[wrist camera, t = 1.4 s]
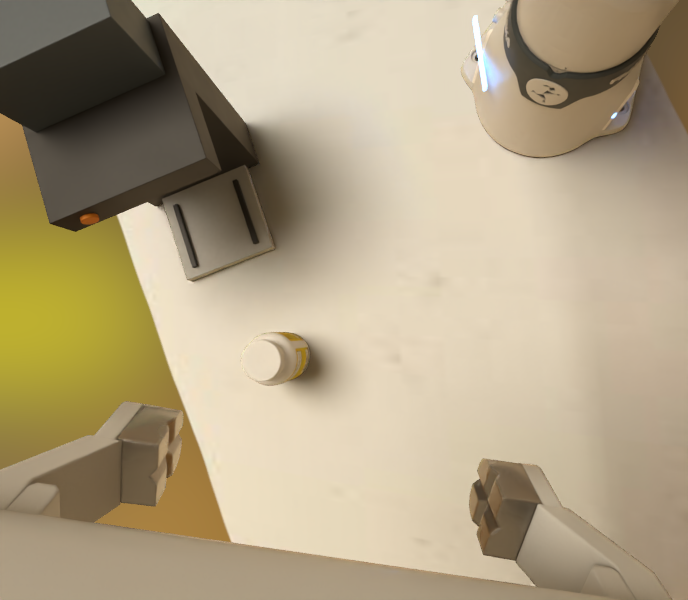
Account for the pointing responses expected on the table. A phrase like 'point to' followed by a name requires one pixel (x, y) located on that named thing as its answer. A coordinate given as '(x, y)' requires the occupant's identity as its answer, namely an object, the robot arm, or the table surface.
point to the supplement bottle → (275, 358)
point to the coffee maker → (129, 127)
